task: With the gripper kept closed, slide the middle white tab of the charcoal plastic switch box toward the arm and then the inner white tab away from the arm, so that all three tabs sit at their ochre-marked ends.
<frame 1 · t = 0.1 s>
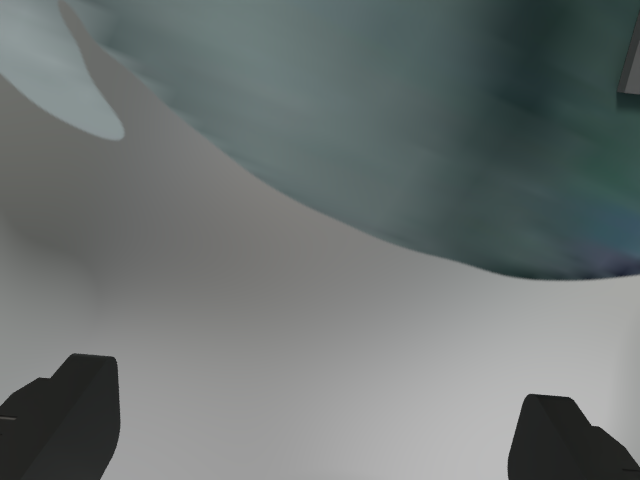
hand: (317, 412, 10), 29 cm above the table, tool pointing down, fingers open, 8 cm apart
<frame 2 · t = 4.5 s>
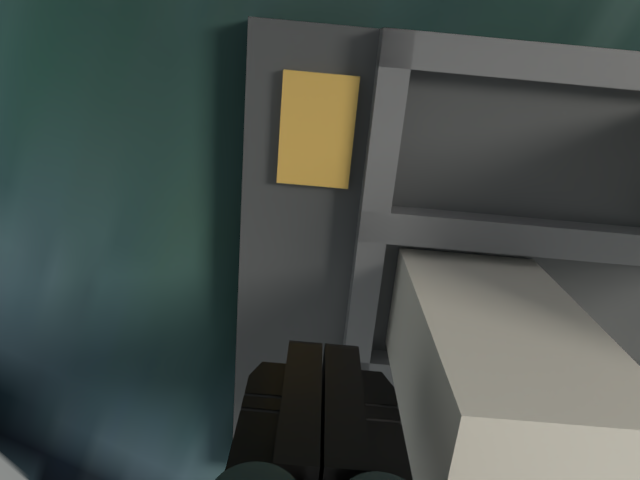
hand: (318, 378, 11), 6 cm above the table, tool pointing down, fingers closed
switch box: (549, 295, 17), on the table
tab middle: (494, 373, 12), point 5 cm above the table, slide at 6.8 cm, touching gripper
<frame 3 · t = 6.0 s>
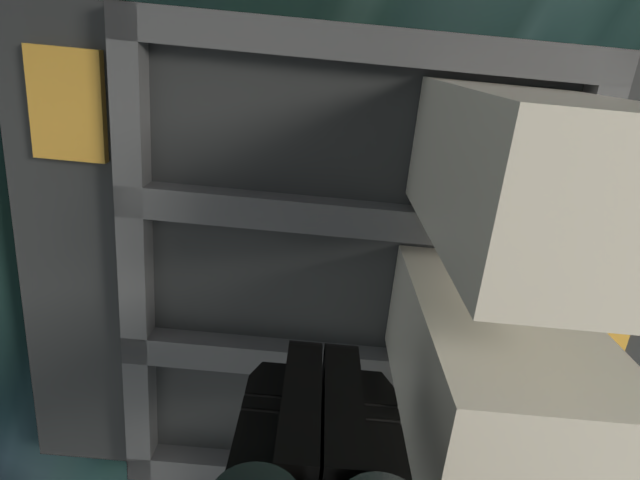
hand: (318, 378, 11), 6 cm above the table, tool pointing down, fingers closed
switch box: (341, 275, 17), on the table
tab middle: (491, 369, 12), point 5 cm above the table, slide at 0.0 cm, touching gripper
tab inner: (536, 173, 11), point 5 cm above the table, slide at 0.0 cm
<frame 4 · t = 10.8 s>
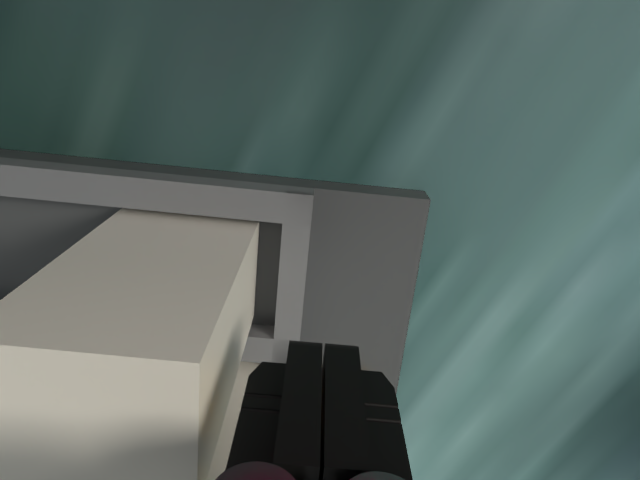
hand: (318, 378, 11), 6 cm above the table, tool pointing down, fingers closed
switch box: (111, 366, 18), on the table
tab inner: (152, 323, 12), point 5 cm above the table, slide at 0.4 cm, touching gripper
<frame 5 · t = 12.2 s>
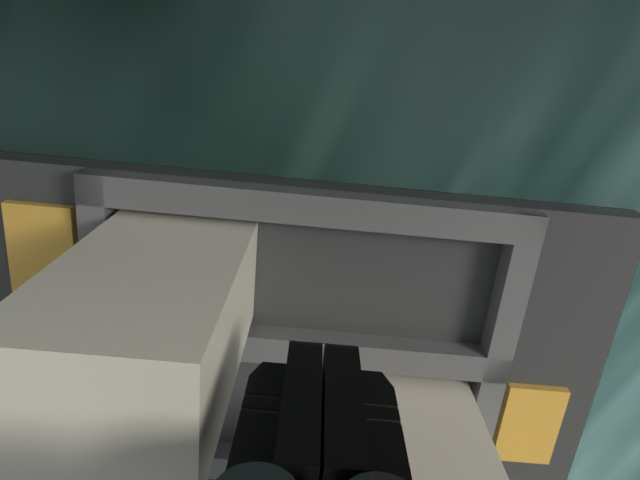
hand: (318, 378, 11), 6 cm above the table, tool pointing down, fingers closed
switch box: (296, 384, 19), on the table
tab inner: (151, 324, 12), point 5 cm above the table, slide at 7.1 cm, touching gripper
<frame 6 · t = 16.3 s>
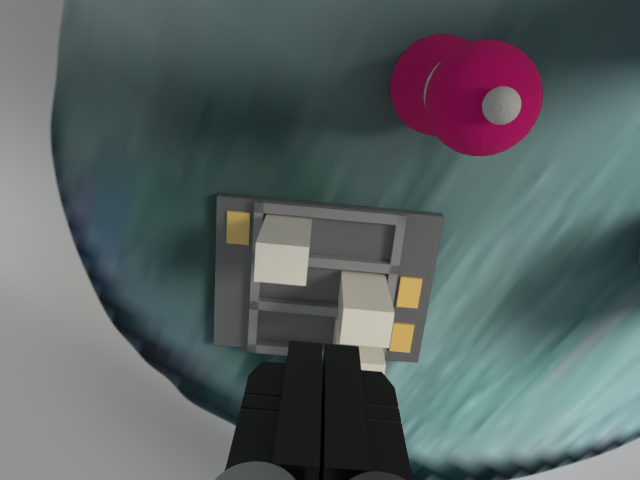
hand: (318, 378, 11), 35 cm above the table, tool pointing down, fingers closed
switch box: (323, 279, 49), on the table
pepper mill: (428, 82, 43), on the table
tab middle: (363, 306, 44), point 5 cm above the table, slide at 0.0 cm
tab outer: (356, 354, 46), point 5 cm above the table, slide at 0.0 cm
tab inner: (285, 246, 43), point 5 cm above the table, slide at 7.0 cm
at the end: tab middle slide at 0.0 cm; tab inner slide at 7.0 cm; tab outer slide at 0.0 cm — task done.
